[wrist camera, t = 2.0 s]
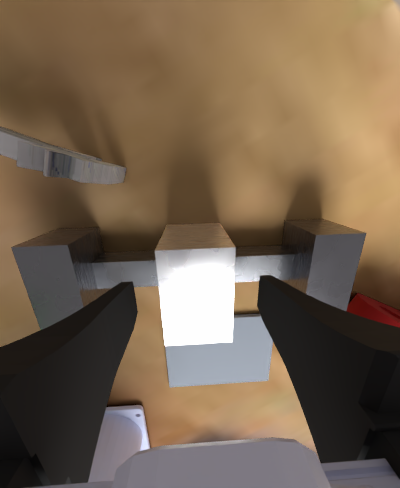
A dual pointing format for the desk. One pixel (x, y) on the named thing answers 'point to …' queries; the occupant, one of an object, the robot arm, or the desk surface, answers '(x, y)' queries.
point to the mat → (224, 357)
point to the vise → (145, 271)
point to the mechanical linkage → (374, 310)
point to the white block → (196, 283)
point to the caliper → (58, 160)
